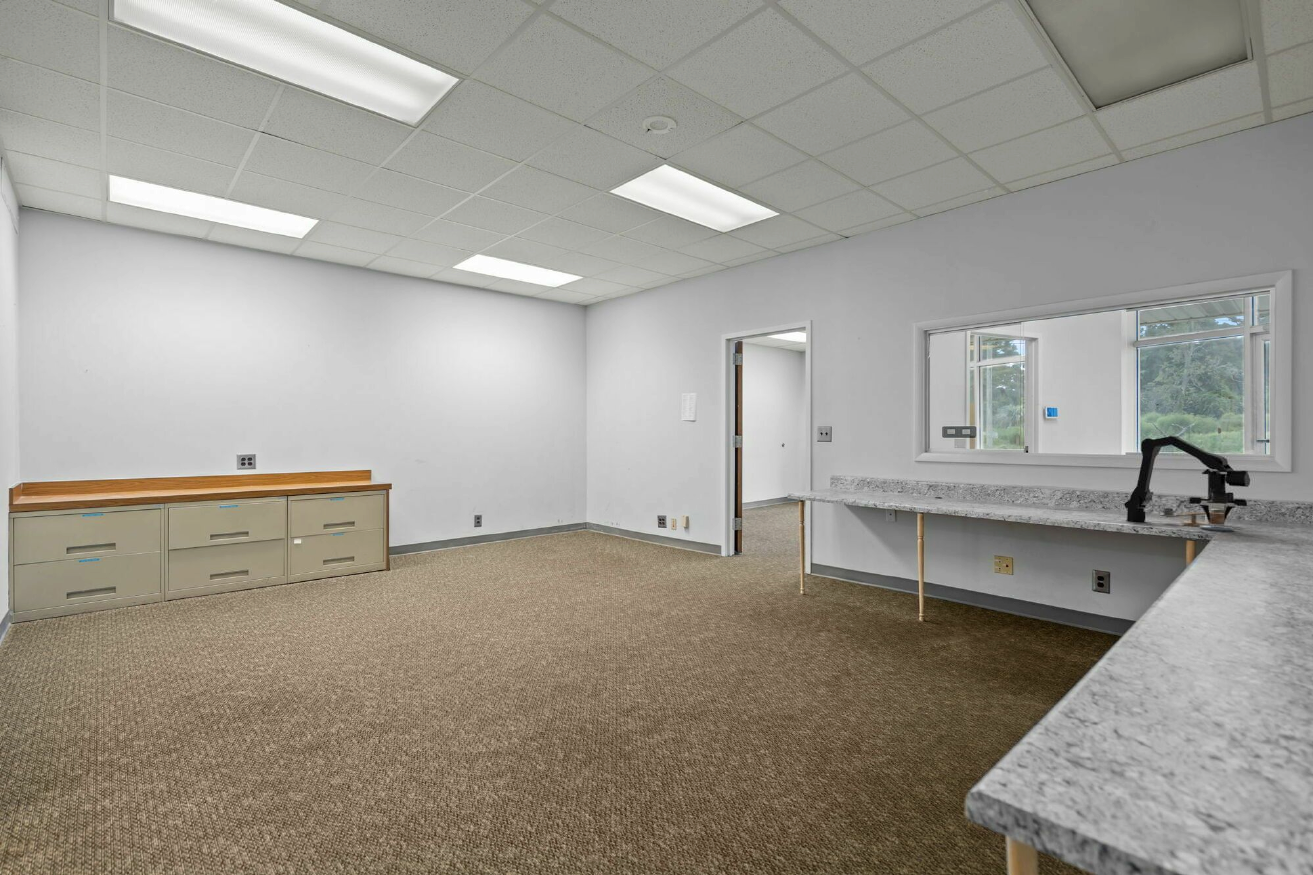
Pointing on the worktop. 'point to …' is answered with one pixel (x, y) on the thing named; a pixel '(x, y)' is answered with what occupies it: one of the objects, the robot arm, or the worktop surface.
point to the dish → (1216, 528)
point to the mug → (1217, 506)
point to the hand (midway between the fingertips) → (1216, 521)
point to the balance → (1169, 513)
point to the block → (1216, 518)
